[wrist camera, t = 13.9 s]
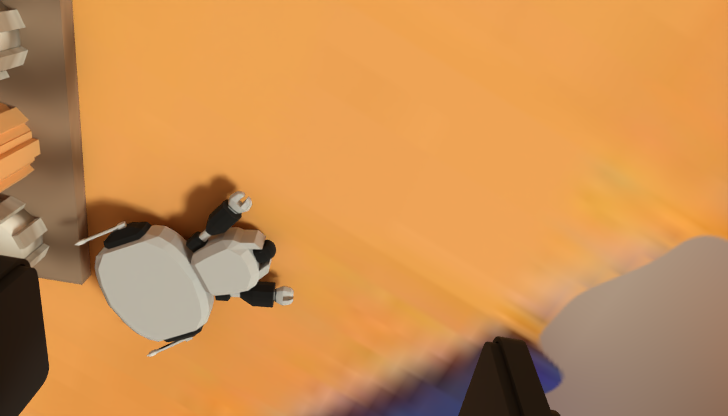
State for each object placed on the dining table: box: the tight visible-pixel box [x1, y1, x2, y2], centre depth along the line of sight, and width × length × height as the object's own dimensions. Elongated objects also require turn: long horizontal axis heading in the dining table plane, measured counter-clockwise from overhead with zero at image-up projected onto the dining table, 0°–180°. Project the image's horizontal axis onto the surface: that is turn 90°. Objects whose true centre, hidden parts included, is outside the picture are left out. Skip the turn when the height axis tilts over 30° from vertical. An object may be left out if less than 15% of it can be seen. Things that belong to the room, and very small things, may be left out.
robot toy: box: [75, 191, 294, 356], centre depth 44 cm, size 12×4×15 cm
